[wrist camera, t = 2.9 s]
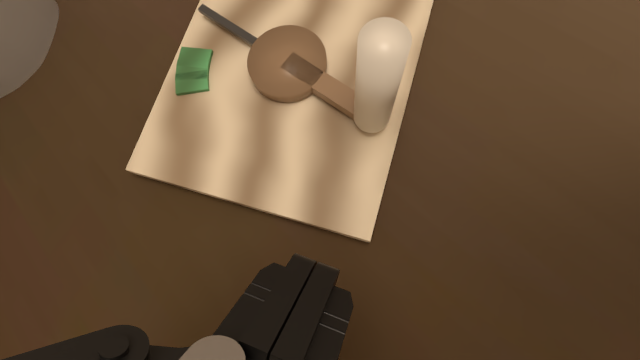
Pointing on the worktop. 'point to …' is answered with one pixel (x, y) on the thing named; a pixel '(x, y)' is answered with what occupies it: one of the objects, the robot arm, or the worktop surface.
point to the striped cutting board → (276, 118)
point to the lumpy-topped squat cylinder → (24, 39)
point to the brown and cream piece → (311, 66)
